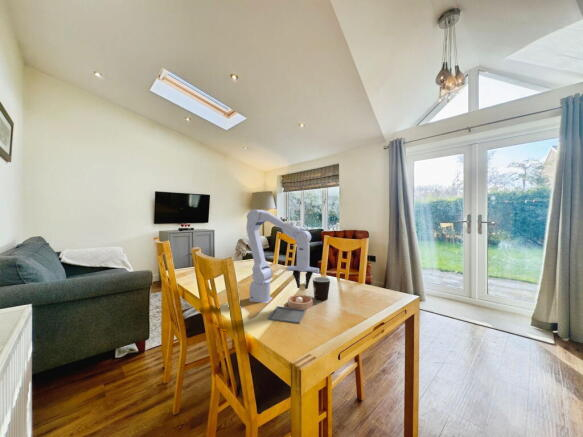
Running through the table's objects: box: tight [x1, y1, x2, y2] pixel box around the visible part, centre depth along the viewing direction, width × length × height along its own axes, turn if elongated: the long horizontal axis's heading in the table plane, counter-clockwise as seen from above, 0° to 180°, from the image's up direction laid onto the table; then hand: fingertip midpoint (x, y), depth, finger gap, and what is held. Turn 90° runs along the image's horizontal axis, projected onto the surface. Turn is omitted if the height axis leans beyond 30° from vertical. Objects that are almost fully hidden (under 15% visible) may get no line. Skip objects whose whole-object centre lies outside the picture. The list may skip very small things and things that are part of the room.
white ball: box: [296, 297, 303, 303], centre depth 108 cm, size 3×3×3 cm
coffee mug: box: [312, 276, 331, 302], centre depth 117 cm, size 12×9×10 cm
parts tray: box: [267, 305, 307, 325], centre depth 96 cm, size 13×12×1 cm
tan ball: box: [298, 283, 307, 292], centre depth 105 cm, size 3×3×3 cm
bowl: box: [287, 294, 314, 310], centre depth 107 cm, size 11×11×3 cm
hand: (302, 287), depth 105 cm, fingers closed on tan ball, 3 cm apart
